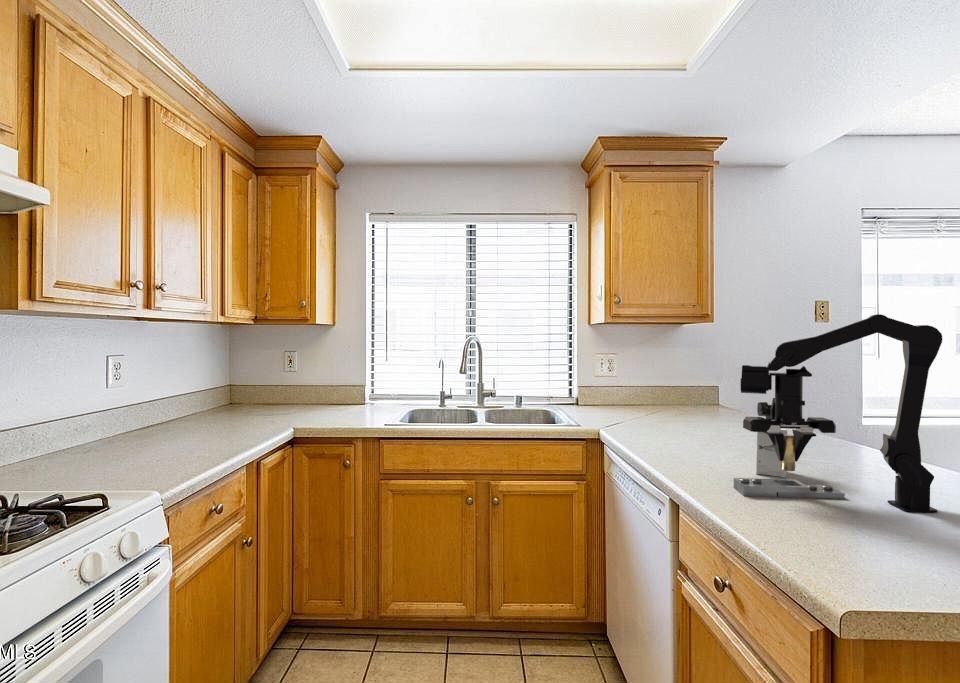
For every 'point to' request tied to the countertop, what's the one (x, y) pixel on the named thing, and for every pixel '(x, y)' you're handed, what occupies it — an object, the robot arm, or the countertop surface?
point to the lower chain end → (815, 493)
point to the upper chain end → (768, 486)
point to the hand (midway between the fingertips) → (787, 461)
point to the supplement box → (768, 456)
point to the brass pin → (788, 453)
